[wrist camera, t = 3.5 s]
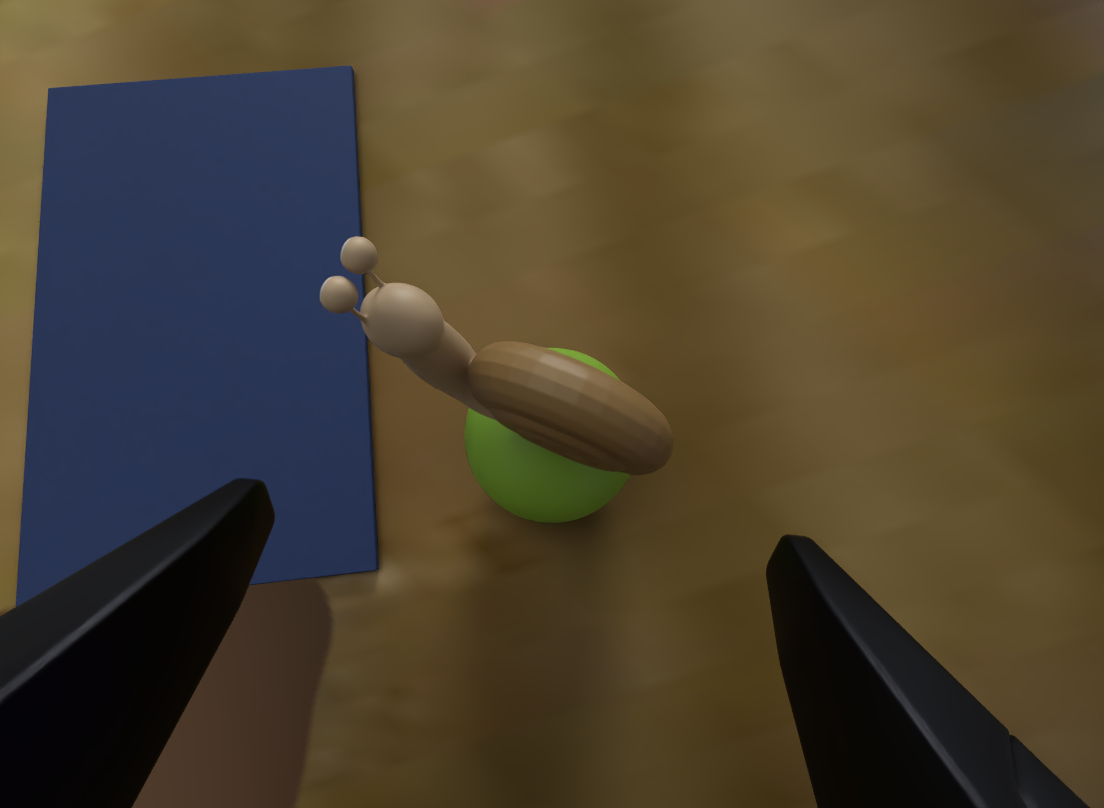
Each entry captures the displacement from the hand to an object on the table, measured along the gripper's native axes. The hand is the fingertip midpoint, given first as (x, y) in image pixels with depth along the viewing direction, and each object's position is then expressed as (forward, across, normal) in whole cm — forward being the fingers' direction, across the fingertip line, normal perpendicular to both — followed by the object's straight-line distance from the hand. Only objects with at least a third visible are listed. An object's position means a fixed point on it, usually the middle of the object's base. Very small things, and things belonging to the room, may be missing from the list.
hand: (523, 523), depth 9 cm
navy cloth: (+11, +13, +3) cm, 17 cm away
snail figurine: (+9, 0, +5) cm, 10 cm away
